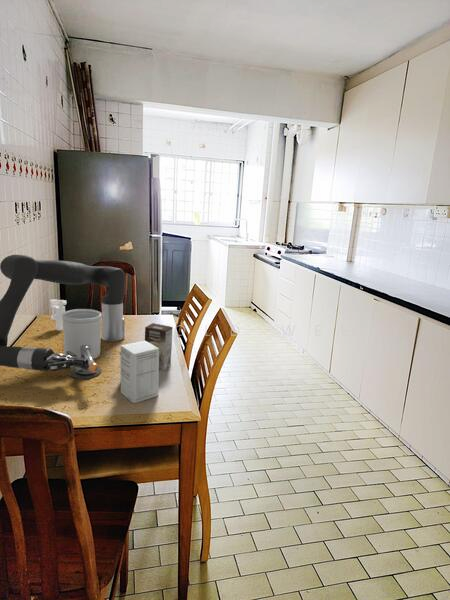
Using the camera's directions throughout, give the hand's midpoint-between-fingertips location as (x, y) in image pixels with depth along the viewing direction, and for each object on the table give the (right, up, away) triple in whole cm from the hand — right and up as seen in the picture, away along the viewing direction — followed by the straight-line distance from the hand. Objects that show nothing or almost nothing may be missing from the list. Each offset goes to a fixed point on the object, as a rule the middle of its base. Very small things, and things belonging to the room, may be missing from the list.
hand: (86, 362), depth 130 cm
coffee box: (+20, -5, +23) cm, 31 cm away
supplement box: (+18, -10, -1) cm, 21 cm away
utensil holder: (-12, -2, +28) cm, 31 cm away
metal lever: (-1, -7, +5) cm, 9 cm away
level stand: (+14, -8, +8) cm, 18 cm away
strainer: (-33, +7, +57) cm, 67 cm away
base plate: (-5, -5, +12) cm, 14 cm away
